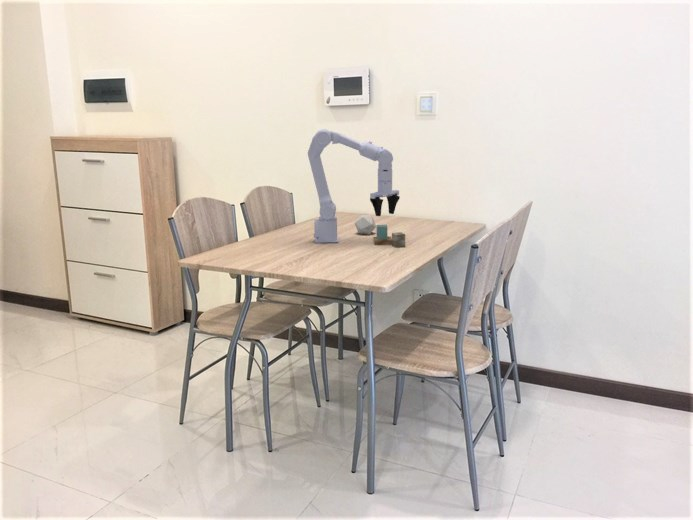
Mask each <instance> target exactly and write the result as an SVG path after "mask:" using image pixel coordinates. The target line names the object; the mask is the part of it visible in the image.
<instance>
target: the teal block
mask: <svg viewBox="0 0 693 520" xmlns="http://www.w3.org/2000/svg"><path fill="white" fill-rule="evenodd" d="M387 236H388V225H387V224H376V237H377V239H387Z"/></svg>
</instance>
